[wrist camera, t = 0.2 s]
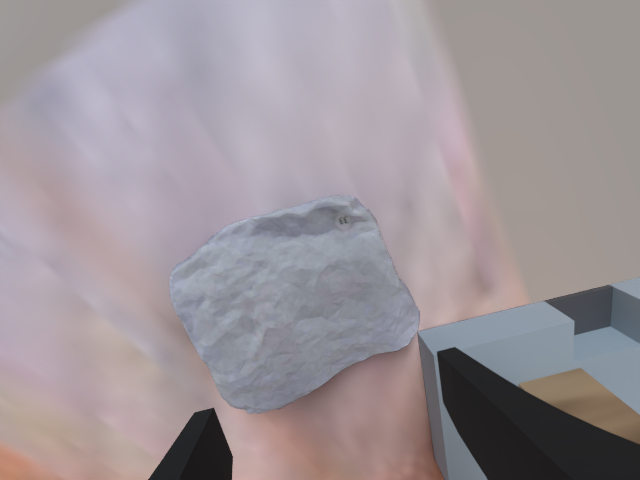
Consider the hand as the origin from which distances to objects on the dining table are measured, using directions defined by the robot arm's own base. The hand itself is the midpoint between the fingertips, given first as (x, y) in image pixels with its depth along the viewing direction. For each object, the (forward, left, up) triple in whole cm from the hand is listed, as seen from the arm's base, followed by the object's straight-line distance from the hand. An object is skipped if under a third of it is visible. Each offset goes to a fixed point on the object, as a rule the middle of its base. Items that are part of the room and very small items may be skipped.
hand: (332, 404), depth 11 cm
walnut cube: (-11, -13, -7) cm, 18 cm away
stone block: (0, +1, -11) cm, 11 cm away
